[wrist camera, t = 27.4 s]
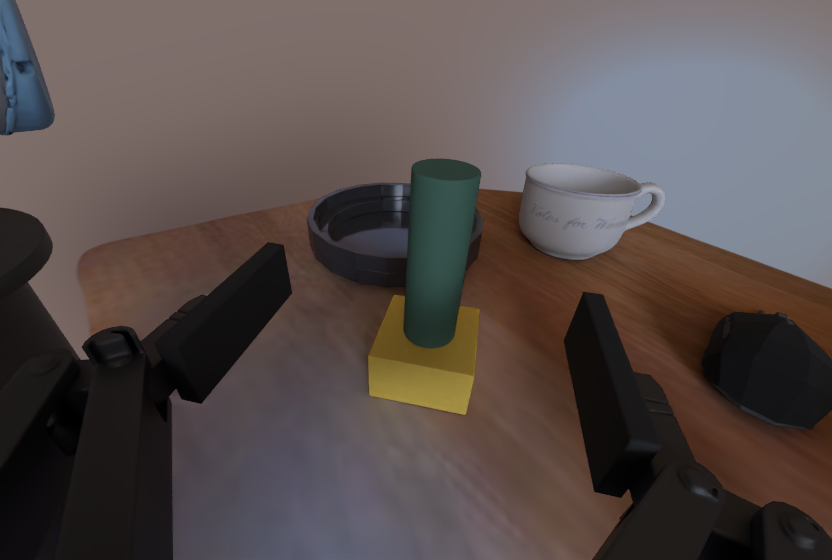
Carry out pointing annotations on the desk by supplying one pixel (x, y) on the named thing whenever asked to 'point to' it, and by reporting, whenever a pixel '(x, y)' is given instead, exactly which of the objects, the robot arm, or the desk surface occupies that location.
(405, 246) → the bowl
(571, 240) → the teacup
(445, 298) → the green peg on stand
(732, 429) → the desk surface
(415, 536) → the desk surface
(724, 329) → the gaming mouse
